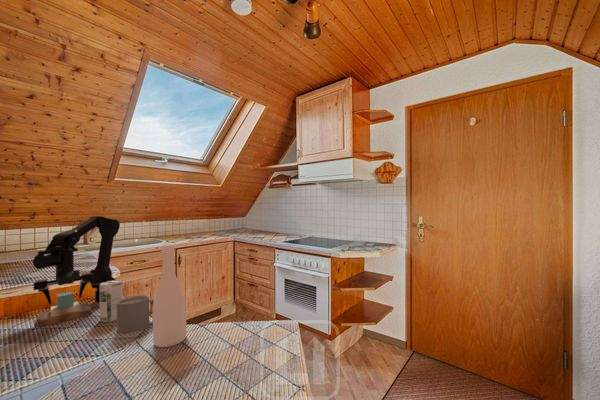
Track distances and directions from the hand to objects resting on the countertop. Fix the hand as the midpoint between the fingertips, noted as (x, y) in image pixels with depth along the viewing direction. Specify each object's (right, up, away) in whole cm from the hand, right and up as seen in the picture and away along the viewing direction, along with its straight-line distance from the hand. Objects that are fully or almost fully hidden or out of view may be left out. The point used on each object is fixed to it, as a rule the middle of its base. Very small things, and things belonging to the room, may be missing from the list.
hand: (65, 301), depth 113 cm
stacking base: (0, -6, 0) cm, 6 cm away
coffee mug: (+39, -4, -14) cm, 41 cm away
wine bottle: (+57, -3, -27) cm, 63 cm away
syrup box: (+23, -5, -6) cm, 25 cm away
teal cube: (0, -2, 0) cm, 2 cm away
